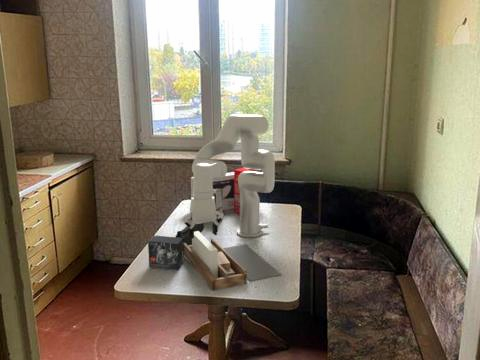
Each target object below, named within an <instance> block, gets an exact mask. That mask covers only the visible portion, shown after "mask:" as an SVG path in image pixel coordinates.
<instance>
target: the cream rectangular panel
mask: <svg viewBox="0 0 480 360" xmlns="http://www.w3.org/2000/svg"><path fill="white" fill-rule="evenodd" d="M210 242H211V241H209V239H207V238H206V237H205V236H204V235H203V234H202V232H201V233H200V232H199V231H196V232H194V238H192V251H193V252H194V253H195V254H196V256H197V257H198V258H199V259H200V260H201V261H202V262H203V263H204V265H205V266H206V267H207V268H208V269H209V270H210V271H211V272H212V274H213V275H214V276H215V279H216V278H218V250H217V249H216V248H215V247H214V246H213V245H212V244H211V243H210Z"/></svg>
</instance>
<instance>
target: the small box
mask: <svg viewBox="0 0 480 360" xmlns="http://www.w3.org/2000/svg"><path fill="white" fill-rule="evenodd" d="M147 246H148V247H147V248H148V268H150V269H159V270H160V269H161V270H162V269H163V270H170V271H171V270H172V271H180V270H181V268H182V266H183V264H184V255H183V238H178V237H175V236H164V235H152V236H151V237H150V239H149V240H148V241H147Z"/></svg>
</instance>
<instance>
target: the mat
mask: <svg viewBox="0 0 480 360" xmlns="http://www.w3.org/2000/svg"><path fill="white" fill-rule="evenodd" d="M223 248H224V249H225V250H226V251H227V252H228V253H229V254H230V255H231V256H232V257H233V258H234V259H235V260H236V261H237V262H238V263H239V264H240V265H241V266H243V267H244V268H245V269H246V270H247V280H248V281H249V282H254V281H260V280H264V279H269V278H273V277H280V276H282V273H281V272H280V271H279V270H278V269H276V268H275V267H273V265H271V264H270V263H269V262H268V261H267V260H265V259H264V258H263V257H262V256H260V255H259V254H258V253H257V252H256V251H254V250H253V249H252V248H251V247H249V246H248V244H240V245H232V246H229V247H223Z"/></svg>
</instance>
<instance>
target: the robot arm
mask: <svg viewBox="0 0 480 360" xmlns="http://www.w3.org/2000/svg"><path fill="white" fill-rule="evenodd" d="M268 129H269V121H268V118H267V117H266V116H265V115H262V114H261V115H260V114H244V113H237V114H230V115H229V116H227V118H226V119H225V121H224V122H223V124H222V126H221V129H220V131H219V132H218V135H217V136H216V138H214V139H213V140H210V142H208V143H206V144H205V145H203V146H202V147H201V148H200V149H199V150H198V152H197V154H196V155H195V157H194V159H193V162H192V165H191V172H192V173H193V176H192V177H193V180H194V197H193V198H192V199H191V198H190V204H189V213H188V214H186V215H184V216H183V217H182V218H181V220H182V222H183V224H184V225H185V227H187V226H188V227H189V236H190V237H191V238H194V229H193V227H194V225H195V224H200V223H204V224H207V223H212V231H211V233H212V234H213V235H214V236H217V234H218V230H219V228H218V226H220V225H219V224H220V223H221V222H222V221H223V219H224V216H225V214H224V212H223V213H221V212H219V211H216V205H215V199H214V197H213V194H216V191H214V190H213V180H217V179H221V178H223V177H224V176H225V175H226V173H228V166H227V164H226V162H225V161H222V160H216V159H211V158H213V157H215V156H219V155H222V154H226V153H229V152H232V150H234V149H235V146H236V144H237V142H238V140H239V139H240V161H241V166H242V168H243V167H244V168H248V169H255V170H258V172H256V171H243V172H242V173H240V175H239V177H238V184H239V190H240V215H239V228H238V229H237V230H236V234H237V235H238V236H240V237H242V238H249V239H250V238H251V239H253V238H257V237H260V236H262V234H263V229H268V228H269V224H267V223H266V224H264V223H260V209H261V208H260V204H261V203H260V196H259V193H265V194H268V193H271V192H272V191H273V190H274V187H275V177H276V176H275V175H276V174H275V173H276V171H275V170H276V169H275V167H276V166H275V165H276V164H275V156H274V154H273V152H272V151H270V150H266V149H260V139H259V136H262V135H264V134H266V133H267V132H268ZM257 192H258V194H257ZM216 214H217V215H219V217H218V218H217V219H216ZM222 218H223V219H222ZM188 220H190V221H189V222H188Z"/></svg>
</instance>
